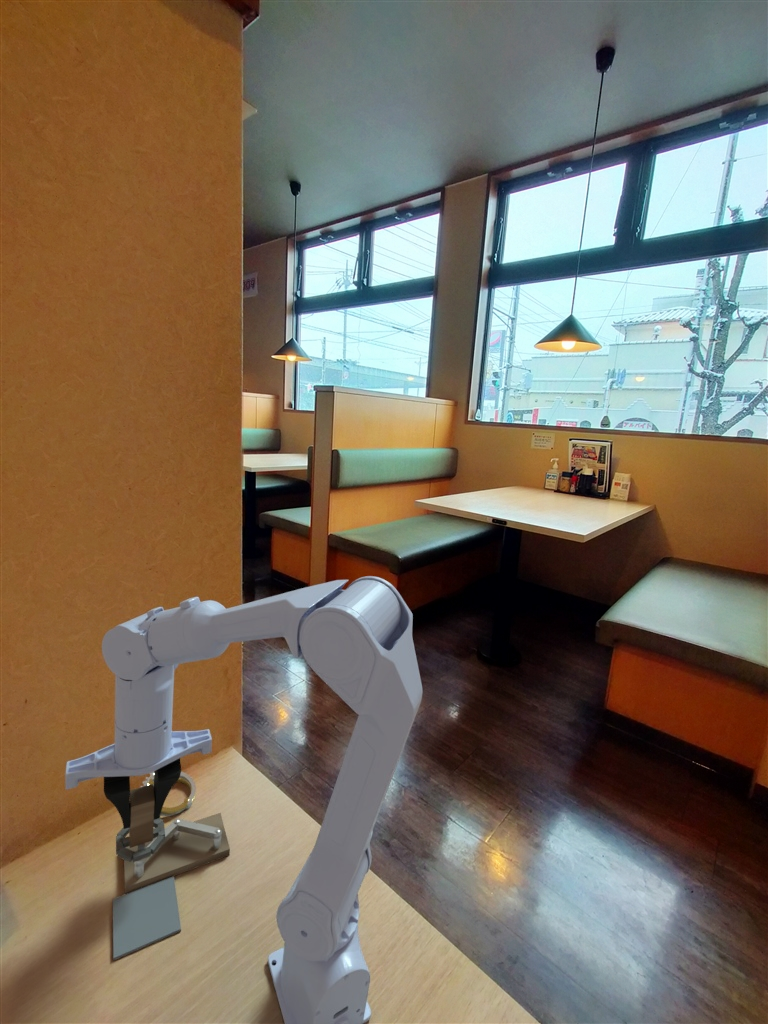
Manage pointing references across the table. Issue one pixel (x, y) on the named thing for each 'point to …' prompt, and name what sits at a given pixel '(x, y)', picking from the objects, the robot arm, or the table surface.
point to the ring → (187, 802)
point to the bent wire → (174, 831)
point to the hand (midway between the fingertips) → (141, 816)
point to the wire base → (177, 856)
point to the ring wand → (140, 827)
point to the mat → (144, 917)
